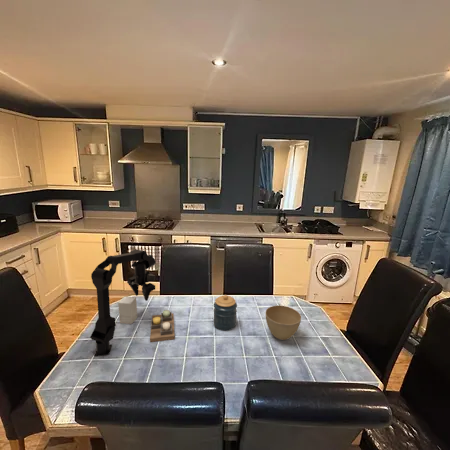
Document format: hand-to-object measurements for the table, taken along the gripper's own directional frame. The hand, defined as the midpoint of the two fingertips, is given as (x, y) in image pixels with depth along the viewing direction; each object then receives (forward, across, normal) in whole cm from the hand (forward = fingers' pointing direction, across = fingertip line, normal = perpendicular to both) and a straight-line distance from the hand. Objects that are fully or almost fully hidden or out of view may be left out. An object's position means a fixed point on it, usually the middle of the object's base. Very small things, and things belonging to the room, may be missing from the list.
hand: (141, 297), depth 141 cm
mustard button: (+10, -14, 0) cm, 17 cm away
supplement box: (+14, +5, +6) cm, 16 cm away
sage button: (+10, -12, -7) cm, 17 cm away
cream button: (+10, -21, 0) cm, 23 cm away
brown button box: (+13, -16, -2) cm, 21 cm away
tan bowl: (+14, -68, -38) cm, 79 cm away
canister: (+14, -39, -27) cm, 49 cm away
